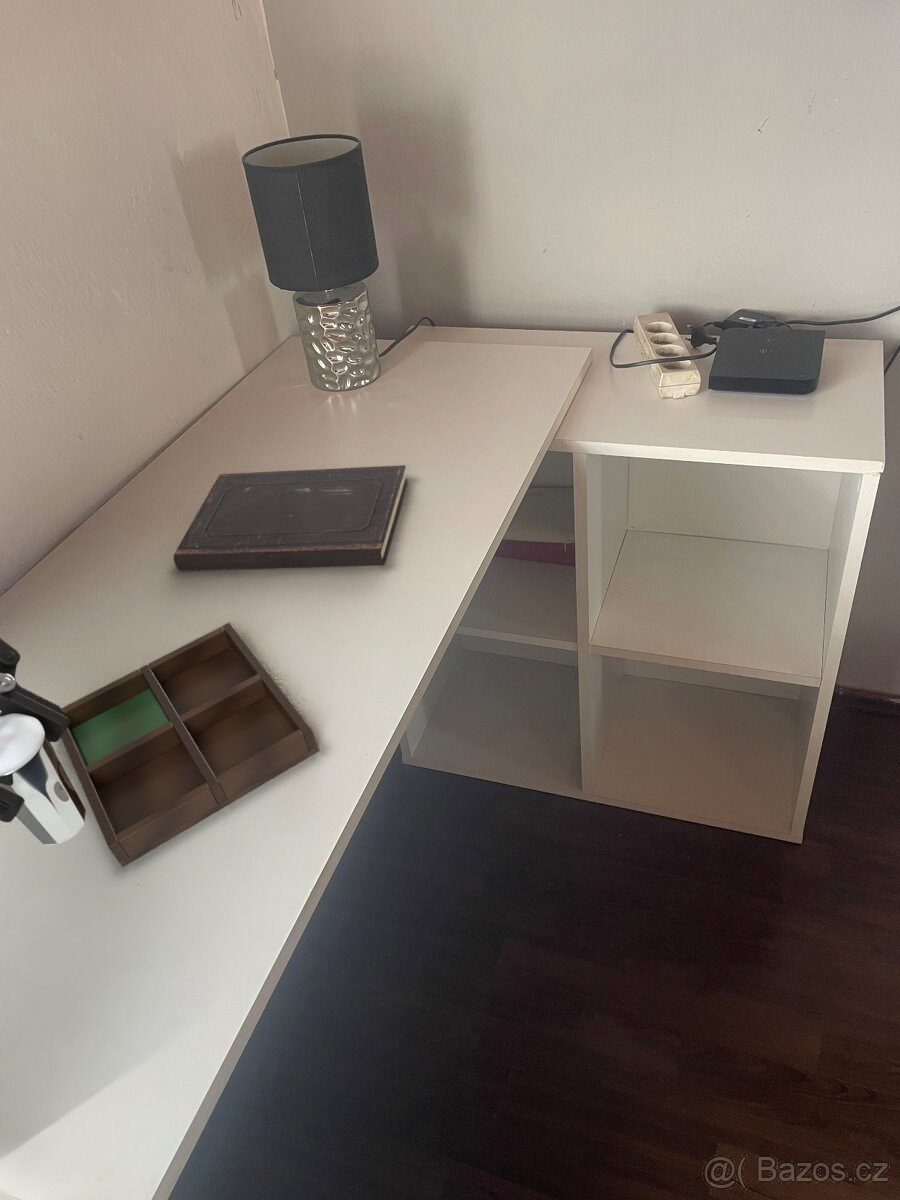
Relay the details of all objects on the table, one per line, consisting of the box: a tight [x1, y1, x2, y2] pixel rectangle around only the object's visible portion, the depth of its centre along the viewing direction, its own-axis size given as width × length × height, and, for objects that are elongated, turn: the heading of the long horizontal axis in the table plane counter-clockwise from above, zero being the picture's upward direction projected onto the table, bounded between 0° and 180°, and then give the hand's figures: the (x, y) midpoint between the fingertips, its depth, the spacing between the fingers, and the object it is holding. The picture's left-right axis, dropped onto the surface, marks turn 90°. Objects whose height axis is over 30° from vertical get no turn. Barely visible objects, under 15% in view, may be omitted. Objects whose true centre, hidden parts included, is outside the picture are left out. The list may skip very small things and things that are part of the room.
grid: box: [60, 621, 320, 868], centre depth 74 cm, size 17×17×3 cm
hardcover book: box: [173, 464, 409, 572], centre depth 97 cm, size 16×23×2 cm
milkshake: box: [0, 713, 87, 846], centre depth 52 cm, size 5×5×10 cm
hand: (40, 769), depth 51 cm, fingers closed on milkshake, 5 cm apart
